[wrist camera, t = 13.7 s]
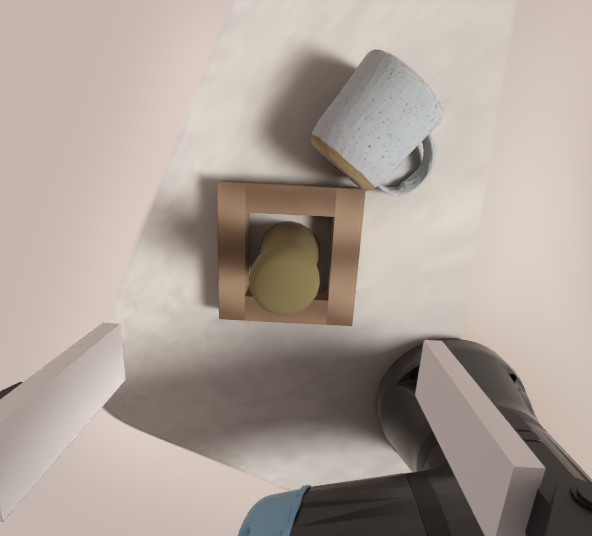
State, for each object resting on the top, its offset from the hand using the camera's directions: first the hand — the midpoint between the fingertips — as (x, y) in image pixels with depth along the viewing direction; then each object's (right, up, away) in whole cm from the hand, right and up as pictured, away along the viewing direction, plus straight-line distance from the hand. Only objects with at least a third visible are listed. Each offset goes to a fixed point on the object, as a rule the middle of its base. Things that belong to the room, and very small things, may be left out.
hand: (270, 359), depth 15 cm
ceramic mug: (+9, +16, +17) cm, 24 cm away
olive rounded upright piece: (0, +6, +20) cm, 20 cm away
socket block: (0, +6, +19) cm, 20 cm away
